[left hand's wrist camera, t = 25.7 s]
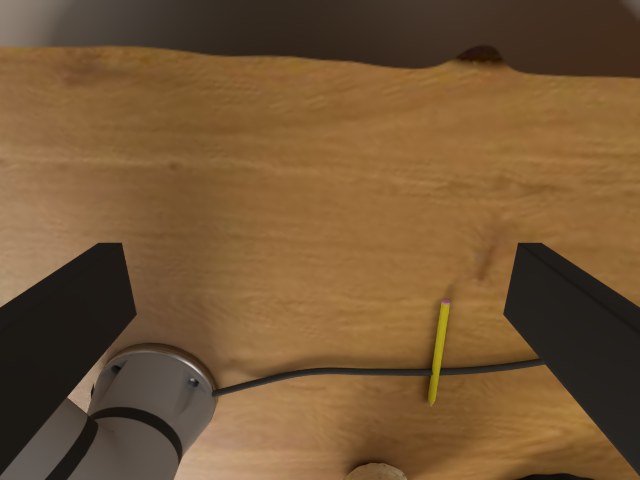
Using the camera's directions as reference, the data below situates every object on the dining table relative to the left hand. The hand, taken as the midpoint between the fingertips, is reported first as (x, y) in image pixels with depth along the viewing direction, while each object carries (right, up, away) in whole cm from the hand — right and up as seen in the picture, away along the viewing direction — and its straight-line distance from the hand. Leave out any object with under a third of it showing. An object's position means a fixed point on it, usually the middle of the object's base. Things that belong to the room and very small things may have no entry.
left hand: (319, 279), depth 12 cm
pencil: (+15, -13, +35) cm, 40 cm away
